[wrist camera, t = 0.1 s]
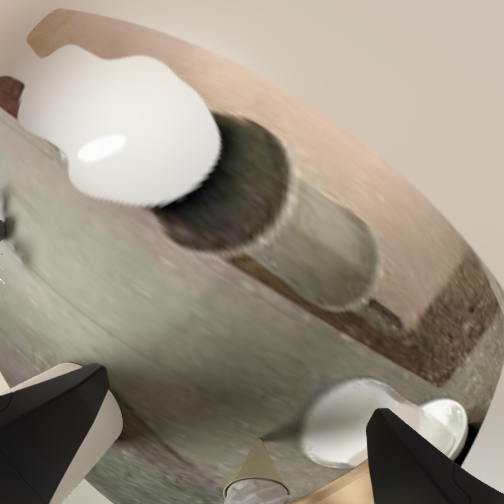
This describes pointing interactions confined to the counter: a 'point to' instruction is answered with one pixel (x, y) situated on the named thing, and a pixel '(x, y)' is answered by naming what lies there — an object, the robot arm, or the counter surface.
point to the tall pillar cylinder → (94, 443)
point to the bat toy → (0, 235)
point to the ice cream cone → (257, 480)
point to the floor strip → (344, 489)
